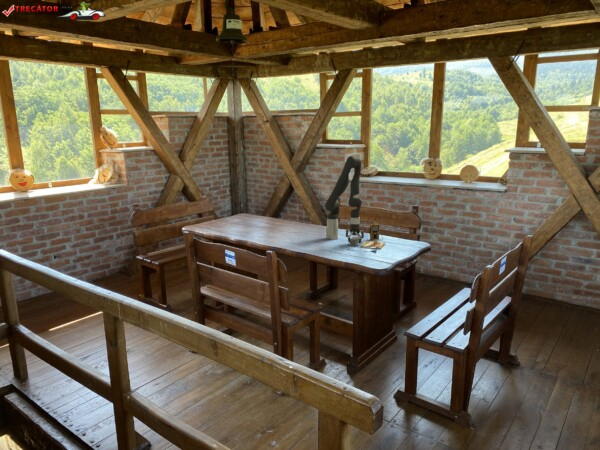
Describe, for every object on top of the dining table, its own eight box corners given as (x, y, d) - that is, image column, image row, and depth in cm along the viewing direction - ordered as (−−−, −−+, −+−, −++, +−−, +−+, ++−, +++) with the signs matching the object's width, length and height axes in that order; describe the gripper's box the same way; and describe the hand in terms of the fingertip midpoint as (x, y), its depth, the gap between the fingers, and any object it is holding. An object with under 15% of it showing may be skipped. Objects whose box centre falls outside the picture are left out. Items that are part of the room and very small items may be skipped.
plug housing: (349, 245, 352) (349, 239, 351) (353, 242, 361) (353, 236, 360) (355, 246, 350) (355, 240, 349) (359, 243, 360) (359, 237, 359)
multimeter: (369, 242, 362) (370, 218, 358) (365, 239, 371) (366, 216, 367) (386, 241, 364) (387, 217, 360) (382, 238, 374) (382, 215, 370)
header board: (360, 247, 346) (360, 241, 345) (365, 243, 360) (365, 236, 359) (380, 249, 340) (380, 242, 339) (385, 244, 354) (385, 238, 353)
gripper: (344, 223, 352) (344, 243, 355) (362, 224, 346) (362, 244, 349) (347, 221, 358) (347, 240, 362) (364, 222, 353) (364, 242, 356)
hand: (354, 242), depth 356 cm, fingers open, 8 cm apart
